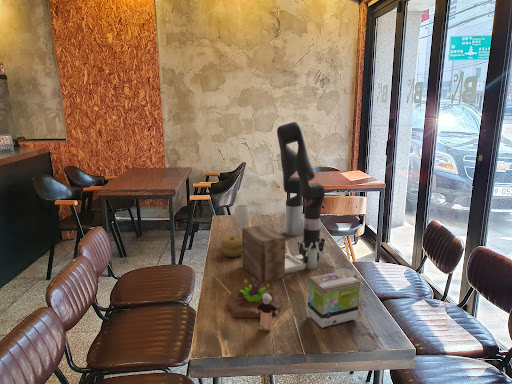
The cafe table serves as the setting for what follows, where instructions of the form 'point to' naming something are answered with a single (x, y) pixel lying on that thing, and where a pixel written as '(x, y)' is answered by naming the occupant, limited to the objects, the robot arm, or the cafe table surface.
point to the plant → (250, 300)
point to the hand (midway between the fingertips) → (310, 261)
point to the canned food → (347, 271)
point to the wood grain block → (263, 253)
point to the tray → (293, 263)
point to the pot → (232, 246)
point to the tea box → (333, 298)
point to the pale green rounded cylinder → (312, 259)
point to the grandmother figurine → (266, 312)
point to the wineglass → (241, 215)
